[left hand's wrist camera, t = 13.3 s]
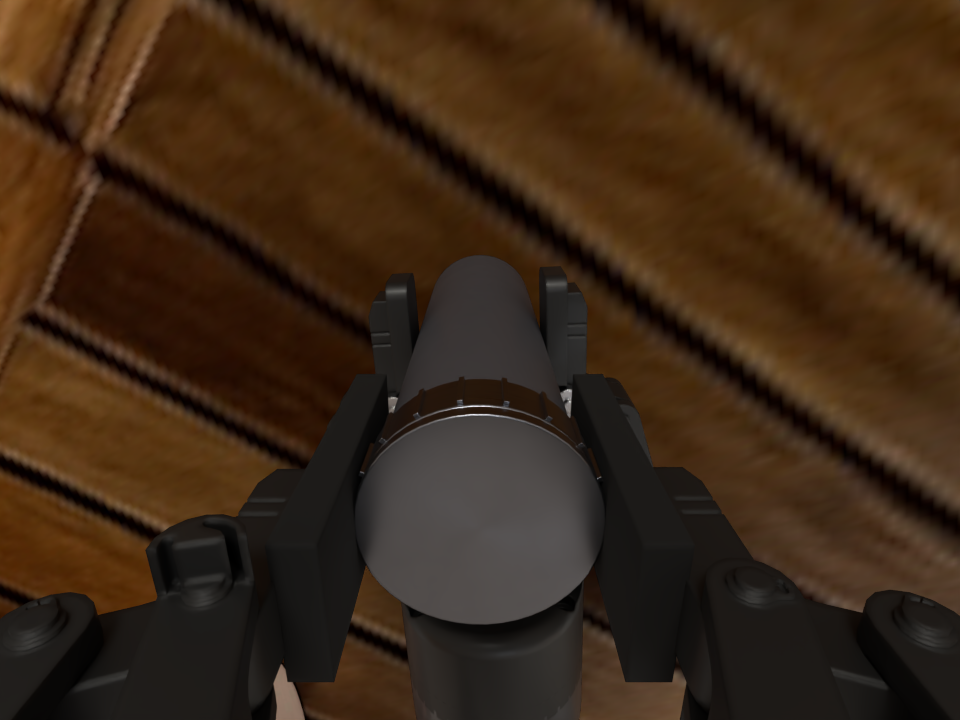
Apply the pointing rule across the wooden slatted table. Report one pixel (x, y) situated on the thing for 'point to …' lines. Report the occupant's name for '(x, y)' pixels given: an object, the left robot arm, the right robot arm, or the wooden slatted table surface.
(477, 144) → the wooden slatted table surface
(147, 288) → the wooden slatted table surface
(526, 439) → the lid
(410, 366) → the dark grey cylinder
